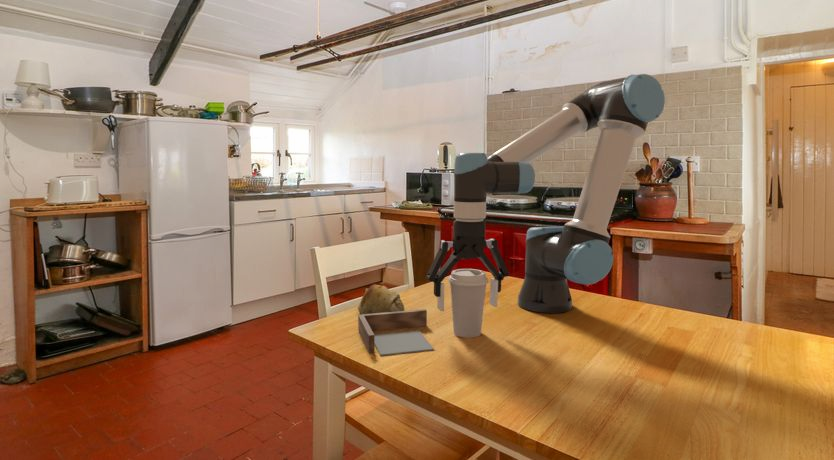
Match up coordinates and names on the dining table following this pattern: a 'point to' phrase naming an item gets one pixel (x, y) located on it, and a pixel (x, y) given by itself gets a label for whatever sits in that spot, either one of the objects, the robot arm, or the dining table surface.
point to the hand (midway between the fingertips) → (467, 307)
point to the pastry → (380, 301)
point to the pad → (401, 343)
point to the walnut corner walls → (388, 323)
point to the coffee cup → (467, 301)
